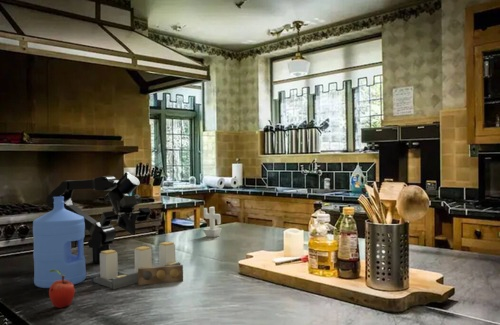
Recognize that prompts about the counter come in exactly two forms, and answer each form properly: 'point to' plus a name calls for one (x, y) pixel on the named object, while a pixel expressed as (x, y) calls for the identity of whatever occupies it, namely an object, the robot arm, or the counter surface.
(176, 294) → the counter surface
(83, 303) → the counter surface
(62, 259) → the water jug
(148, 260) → the button middle
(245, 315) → the counter surface
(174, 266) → the plaque
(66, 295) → the apple
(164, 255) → the button right
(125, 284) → the button board
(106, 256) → the button left
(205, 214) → the figurine
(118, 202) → the robot arm
